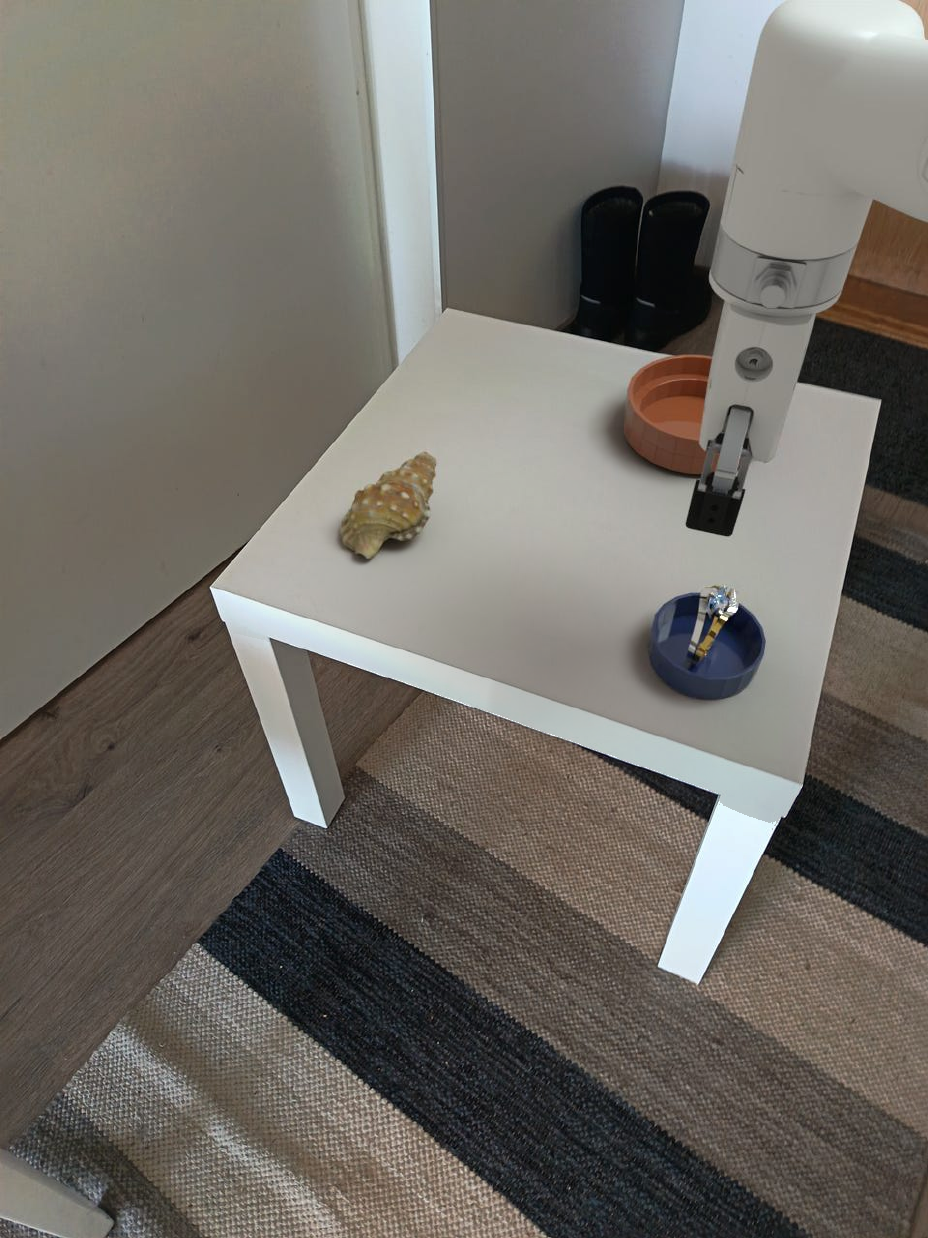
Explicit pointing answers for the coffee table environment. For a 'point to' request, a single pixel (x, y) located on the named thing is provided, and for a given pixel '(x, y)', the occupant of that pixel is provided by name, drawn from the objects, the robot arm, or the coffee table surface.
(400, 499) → the seashell
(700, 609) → the ring
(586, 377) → the coffee table surface
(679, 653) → the blue round dish
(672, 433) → the bowl
